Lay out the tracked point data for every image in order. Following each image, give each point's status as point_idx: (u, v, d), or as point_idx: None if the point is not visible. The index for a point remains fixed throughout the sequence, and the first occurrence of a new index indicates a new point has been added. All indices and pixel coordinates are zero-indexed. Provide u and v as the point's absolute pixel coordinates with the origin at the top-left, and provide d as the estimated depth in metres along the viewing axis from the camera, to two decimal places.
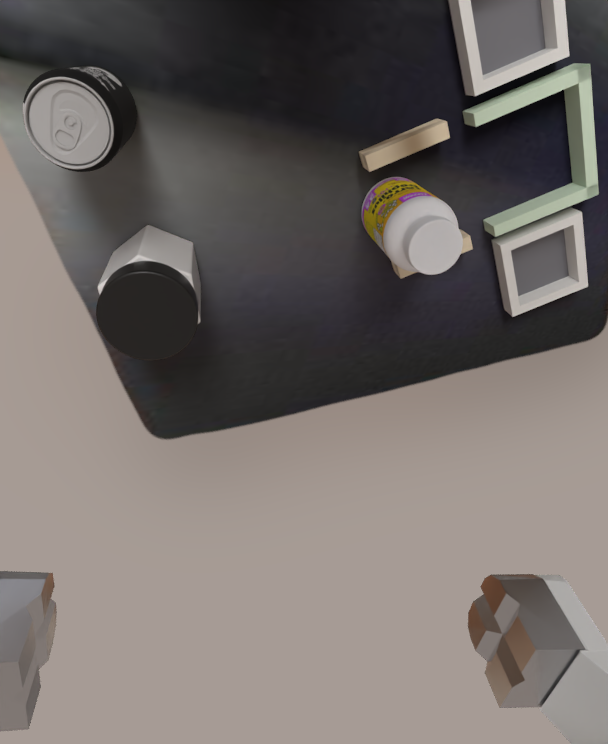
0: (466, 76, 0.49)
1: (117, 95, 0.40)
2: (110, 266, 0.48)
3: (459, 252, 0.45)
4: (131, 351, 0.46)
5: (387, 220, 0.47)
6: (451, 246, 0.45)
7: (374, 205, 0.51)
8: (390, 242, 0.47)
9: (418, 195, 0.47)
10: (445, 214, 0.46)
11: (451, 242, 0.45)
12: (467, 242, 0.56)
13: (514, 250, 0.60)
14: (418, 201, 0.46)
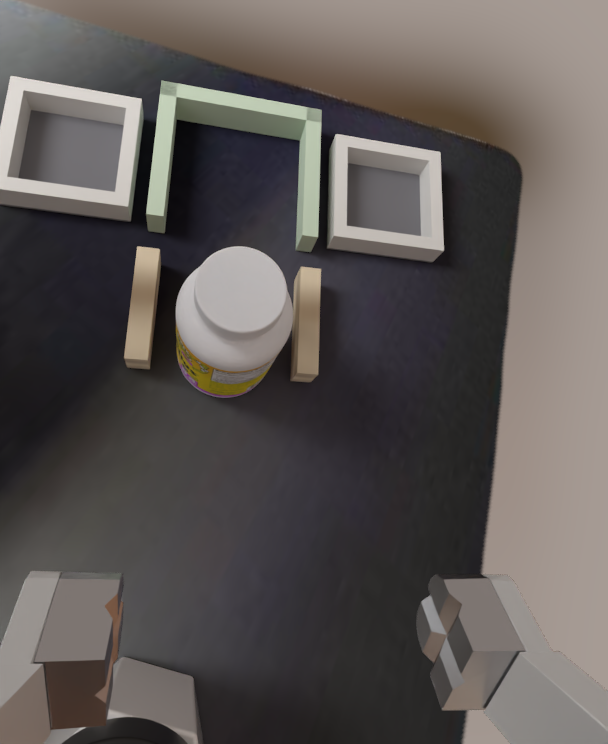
0: (105, 211, 0.39)
1: None
2: None
3: (266, 258, 0.28)
4: None
5: (190, 351, 0.30)
6: (251, 266, 0.28)
7: (188, 369, 0.35)
8: (217, 356, 0.29)
9: None
10: None
11: (243, 264, 0.28)
12: (308, 272, 0.40)
13: (354, 225, 0.44)
14: (178, 297, 0.30)
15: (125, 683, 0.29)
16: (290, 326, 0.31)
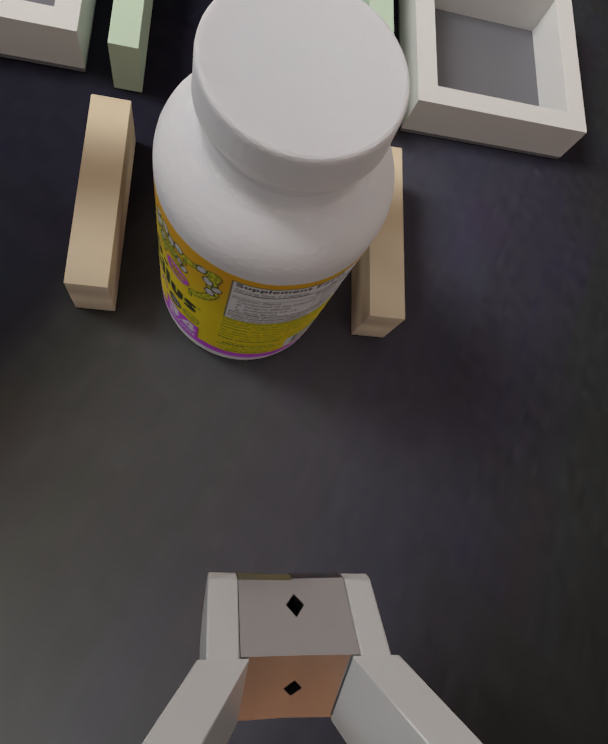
0: (39, 45, 0.23)
1: None
2: None
3: (361, 5, 0.12)
4: None
5: (184, 242, 0.14)
6: (326, 17, 0.12)
7: (181, 301, 0.19)
8: (244, 245, 0.13)
9: None
10: None
11: (309, 11, 0.12)
12: None
13: None
14: (159, 122, 0.14)
15: None
16: (391, 193, 0.15)
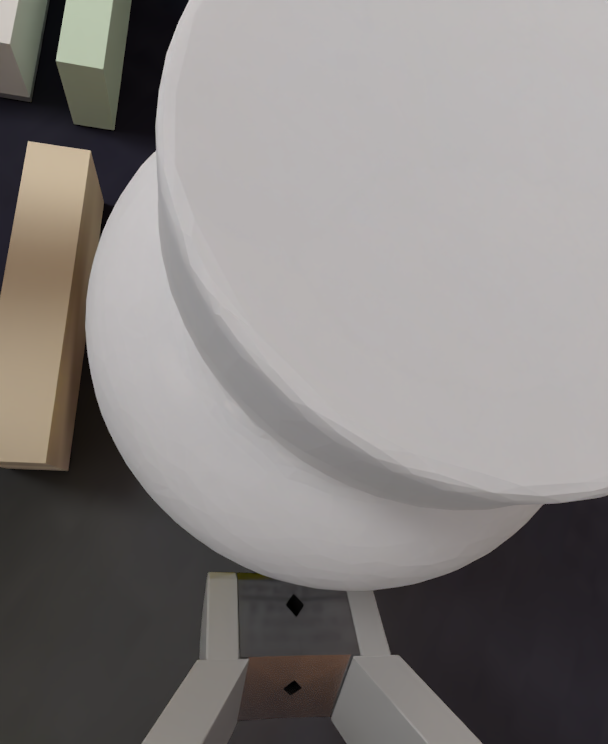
0: None
1: None
2: None
3: None
4: None
5: None
6: (549, 8, 0.04)
7: None
8: (296, 558, 0.06)
9: None
10: None
11: None
12: None
13: None
14: (98, 251, 0.06)
15: None
16: None
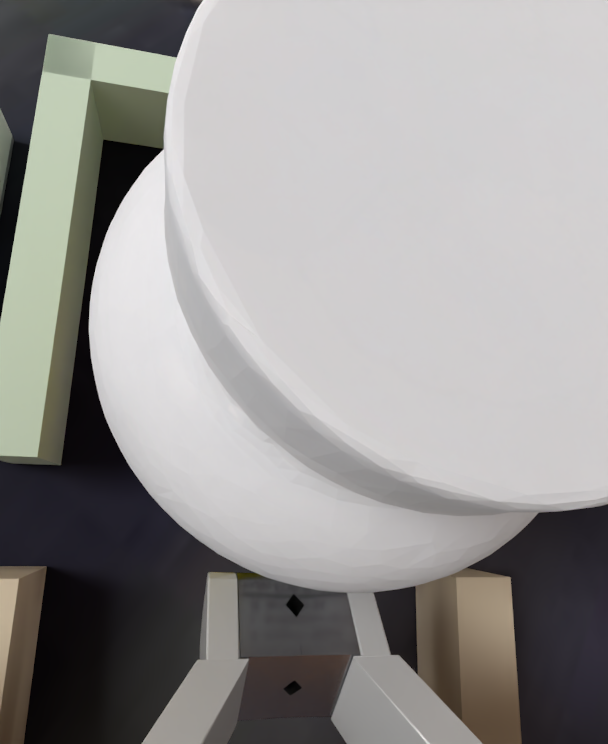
0: None
1: None
2: None
3: None
4: None
5: None
6: (553, 17, 0.04)
7: None
8: (299, 560, 0.06)
9: None
10: None
11: (507, 2, 0.04)
12: (478, 594, 0.13)
13: None
14: (101, 254, 0.06)
15: None
16: None
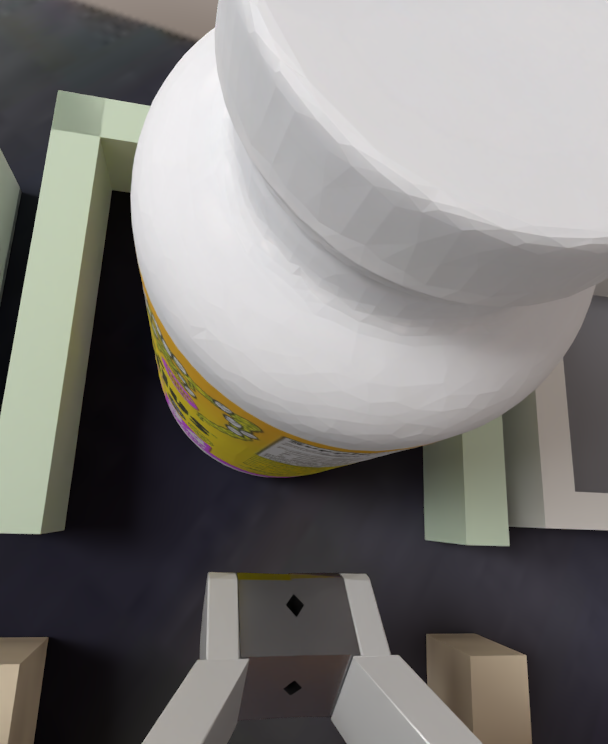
0: None
1: None
2: None
3: None
4: None
5: (191, 365, 0.07)
6: None
7: (185, 414, 0.12)
8: (321, 395, 0.06)
9: None
10: None
11: None
12: (492, 674, 0.13)
13: None
14: (145, 124, 0.07)
15: None
16: None
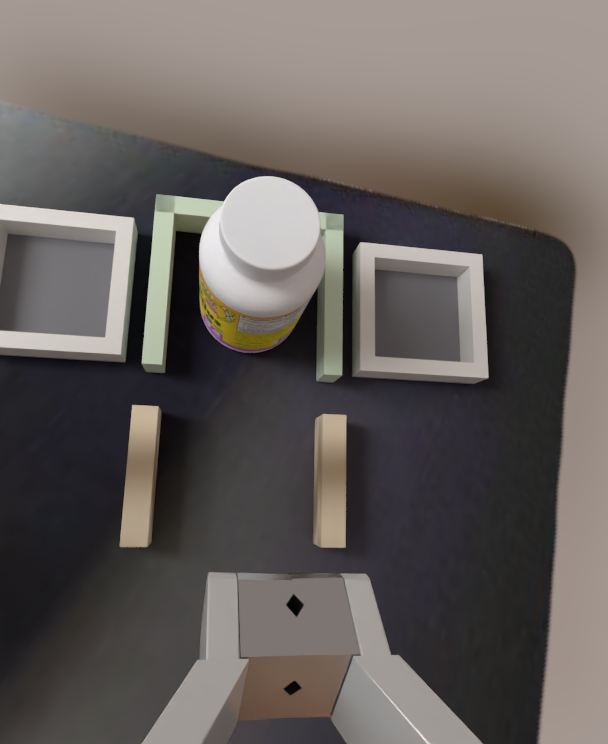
0: (95, 357, 0.34)
1: None
2: None
3: (298, 189, 0.25)
4: None
5: (215, 296, 0.28)
6: (281, 197, 0.25)
7: (212, 320, 0.32)
8: (244, 300, 0.27)
9: None
10: None
11: (273, 195, 0.25)
12: (331, 420, 0.34)
13: (383, 346, 0.38)
14: (202, 236, 0.27)
15: None
16: (322, 268, 0.28)
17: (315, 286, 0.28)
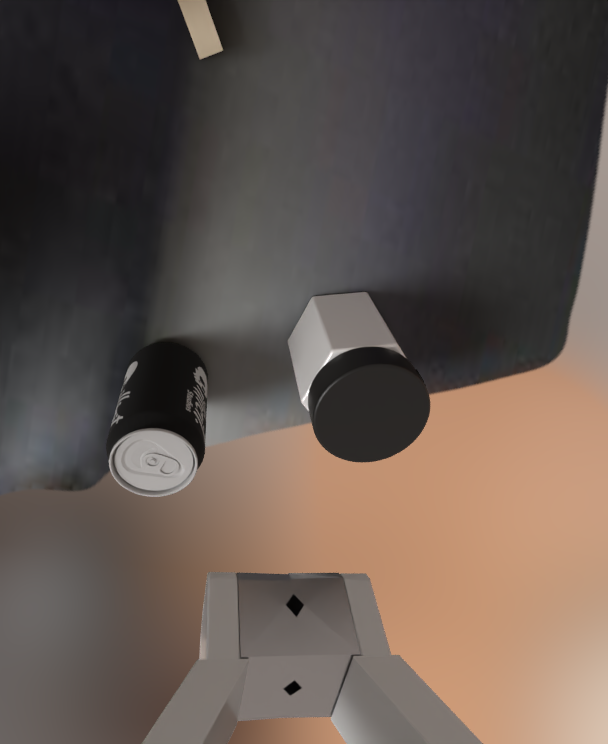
0: None
1: (133, 396, 0.38)
2: None
3: None
4: (411, 435, 0.38)
5: None
6: None
7: None
8: None
9: None
10: None
11: None
12: None
13: None
14: None
15: (330, 321, 0.40)
16: None
17: None
